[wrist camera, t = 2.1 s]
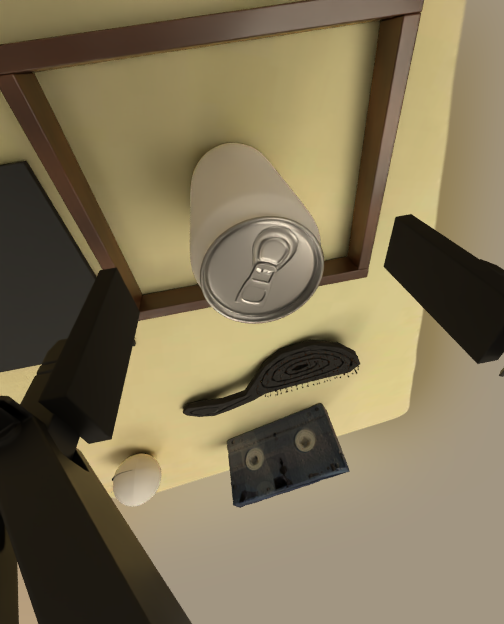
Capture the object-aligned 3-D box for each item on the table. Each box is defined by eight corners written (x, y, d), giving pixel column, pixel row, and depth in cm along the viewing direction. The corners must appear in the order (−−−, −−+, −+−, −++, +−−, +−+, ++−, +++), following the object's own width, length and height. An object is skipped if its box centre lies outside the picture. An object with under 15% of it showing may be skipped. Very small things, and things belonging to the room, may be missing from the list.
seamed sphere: (145, 441, 45) (139, 492, 39) (171, 455, 50) (169, 503, 44) (93, 460, 46) (80, 512, 41) (124, 472, 51) (116, 520, 46)
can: (289, 160, 20) (362, 233, 12) (256, 238, 24) (293, 337, 15) (203, 124, 18) (213, 180, 9) (182, 216, 22) (175, 318, 13)
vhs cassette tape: (232, 444, 51) (239, 508, 43) (224, 439, 49) (230, 505, 42) (326, 409, 48) (351, 472, 40) (322, 402, 46) (347, 466, 38)
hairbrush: (164, 416, 35) (356, 347, 30) (167, 390, 38) (344, 323, 33) (199, 437, 41) (367, 382, 36) (200, 414, 44) (356, 359, 38)
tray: (2, 50, 15) (-25, 47, 13) (400, -8, 16) (428, -18, 14) (136, 304, 27) (132, 322, 25) (355, 263, 28) (367, 277, 26)
